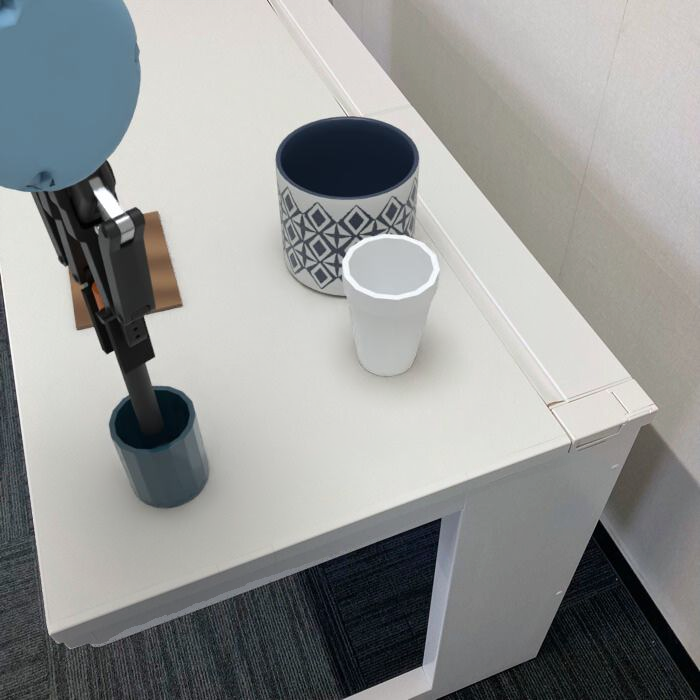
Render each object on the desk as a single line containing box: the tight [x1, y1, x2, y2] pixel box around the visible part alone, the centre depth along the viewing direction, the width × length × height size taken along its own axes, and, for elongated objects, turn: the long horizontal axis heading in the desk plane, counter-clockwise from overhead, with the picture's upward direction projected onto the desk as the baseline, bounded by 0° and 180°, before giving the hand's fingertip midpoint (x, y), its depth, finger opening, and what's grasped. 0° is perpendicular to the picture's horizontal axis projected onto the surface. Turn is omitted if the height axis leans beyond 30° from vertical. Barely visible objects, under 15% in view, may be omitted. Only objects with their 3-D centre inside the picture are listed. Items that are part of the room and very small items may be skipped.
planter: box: [274, 115, 420, 297], centre depth 90 cm, size 16×16×14 cm
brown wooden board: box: [67, 210, 184, 331], centre depth 94 cm, size 18×12×1 cm, turn 18°
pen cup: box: [108, 385, 210, 509], centre depth 71 cm, size 7×7×9 cm
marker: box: [92, 282, 164, 435], centre depth 62 cm, size 2×2×17 cm
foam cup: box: [342, 234, 441, 377], centre depth 79 cm, size 10×9×13 cm
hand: (128, 352), depth 61 cm, fingers closed on marker, 2 cm apart
